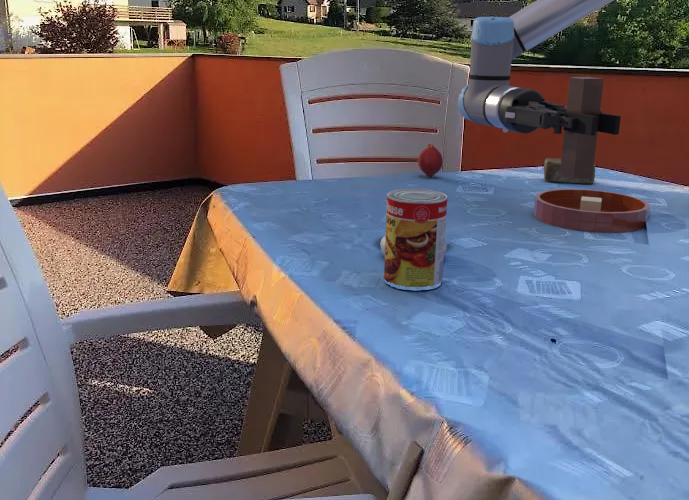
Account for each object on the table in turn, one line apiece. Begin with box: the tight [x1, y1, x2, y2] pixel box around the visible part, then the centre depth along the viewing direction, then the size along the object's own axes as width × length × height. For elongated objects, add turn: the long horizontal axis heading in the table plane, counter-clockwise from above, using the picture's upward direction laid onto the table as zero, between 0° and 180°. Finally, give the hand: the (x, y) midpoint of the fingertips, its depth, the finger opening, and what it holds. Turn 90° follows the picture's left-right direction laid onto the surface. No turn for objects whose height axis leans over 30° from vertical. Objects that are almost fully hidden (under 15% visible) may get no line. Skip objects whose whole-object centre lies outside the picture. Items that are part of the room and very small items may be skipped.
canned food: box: [383, 188, 448, 287], centre depth 94 cm, size 8×8×12 cm
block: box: [580, 196, 602, 212], centre depth 129 cm, size 4×4×4 cm
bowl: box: [533, 188, 651, 234], centre depth 129 cm, size 20×20×4 cm
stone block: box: [543, 157, 596, 185], centre depth 165 cm, size 6×12×5 cm, turn 80°
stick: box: [560, 76, 605, 179], centre depth 109 cm, size 4×4×15 cm
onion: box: [417, 142, 444, 178], centre depth 167 cm, size 6×6×8 cm
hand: (605, 125), depth 103 cm, fingers closed on stick, 3 cm apart
